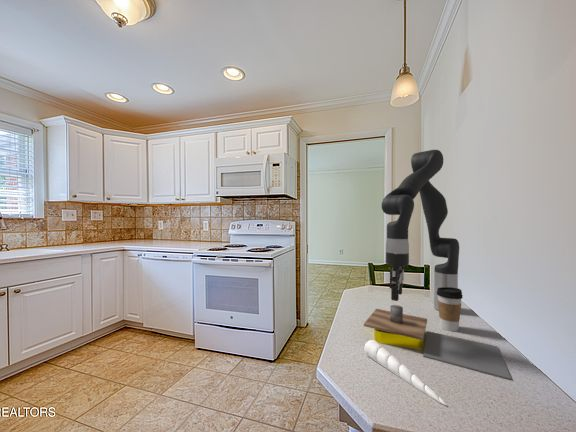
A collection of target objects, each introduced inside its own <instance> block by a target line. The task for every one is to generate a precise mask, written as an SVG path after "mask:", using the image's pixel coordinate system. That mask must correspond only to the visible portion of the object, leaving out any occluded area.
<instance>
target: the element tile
mask: <svg viewBox="0 0 576 432" xmlns="http://www.w3.org/2000/svg"><path fill="white" fill-rule="evenodd" d="M373 334H374V339H373V340H375V341H376V342H377V343H379V344H383V345H390V346H395V347H403V348H406V349H407V348H409V349H412V350H413V349H415V350H424V347H425V342H424V341H425V339H423V340H419V339H415V338H411V337H407V336H403V335H399V334H394V333H390V332H386V331H382V330H378V329H374V328H373Z"/></svg>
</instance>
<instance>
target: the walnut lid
mask: <svg viewBox="0 0 576 432" xmlns="http://www.w3.org/2000/svg"><path fill="white" fill-rule="evenodd" d="M427 324H428V318H425V317H420V316H416V315H411V314H406V313H405V314H404V308H403V306H402V305H397V304H391V305H390V310H385V309H380V308H376V309H375V310H374V311H373V312H372V313H371V314H370V315H369V317H368V318H367V319H366V321H364V323H363V327H365V328H369V329H373V330H374V329H378V330H382V331H386V332H390V333H394V334H399V335H403V336H407V337H411V338H415V339H419V340H423V339H424V338H425V335H426V328H427ZM424 340H425V339H424Z"/></svg>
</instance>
